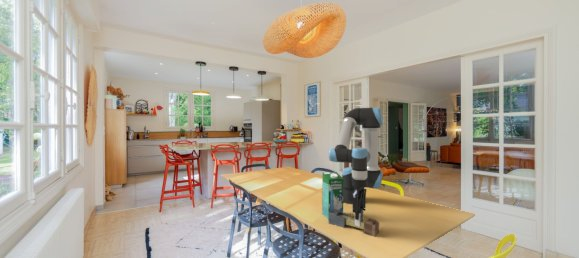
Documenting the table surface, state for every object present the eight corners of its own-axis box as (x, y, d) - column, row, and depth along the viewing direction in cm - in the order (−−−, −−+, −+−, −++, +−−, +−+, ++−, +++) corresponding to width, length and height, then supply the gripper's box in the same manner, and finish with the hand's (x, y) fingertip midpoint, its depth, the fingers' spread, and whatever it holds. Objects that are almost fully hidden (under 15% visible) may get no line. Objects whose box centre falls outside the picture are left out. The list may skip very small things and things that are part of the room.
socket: (368, 229, 121) (368, 217, 121) (378, 231, 118) (378, 219, 118) (363, 233, 116) (364, 220, 116) (374, 236, 113) (374, 223, 113)
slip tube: (340, 220, 129) (340, 203, 129) (371, 228, 119) (371, 210, 118) (337, 221, 127) (337, 204, 126) (369, 230, 116) (369, 212, 116)
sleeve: (334, 219, 133) (334, 208, 133) (349, 223, 128) (349, 212, 128) (328, 223, 128) (328, 212, 128) (343, 227, 123) (344, 216, 123)
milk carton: (328, 220, 132) (328, 175, 132) (322, 214, 141) (322, 172, 141) (343, 218, 135) (343, 174, 134) (336, 212, 144) (336, 171, 143)
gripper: (358, 174, 129) (358, 217, 130) (345, 180, 116) (345, 227, 117) (372, 176, 124) (372, 221, 125) (360, 182, 112) (359, 232, 112)
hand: (359, 224), depth 121 cm, fingers closed on slip tube, 3 cm apart
